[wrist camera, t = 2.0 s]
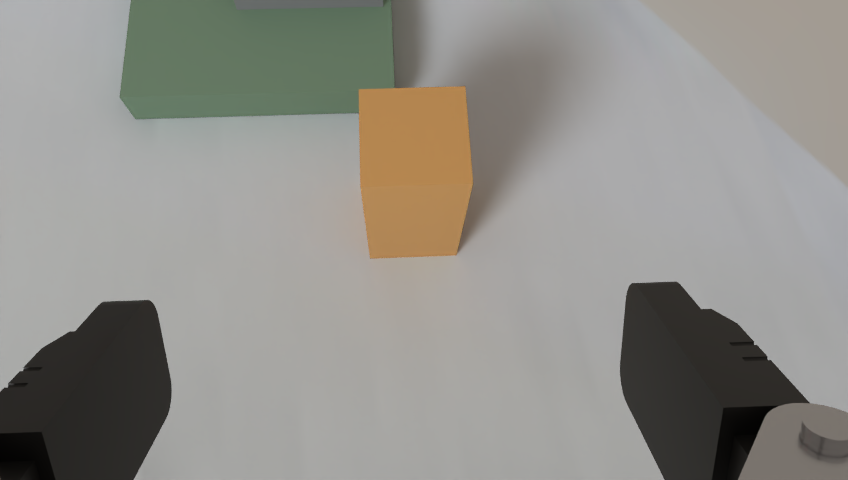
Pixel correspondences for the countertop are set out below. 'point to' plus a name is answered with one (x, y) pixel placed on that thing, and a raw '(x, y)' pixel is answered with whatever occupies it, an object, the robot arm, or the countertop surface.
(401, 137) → the chute block
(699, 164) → the countertop surface
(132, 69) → the green base plate
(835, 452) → the robot arm
